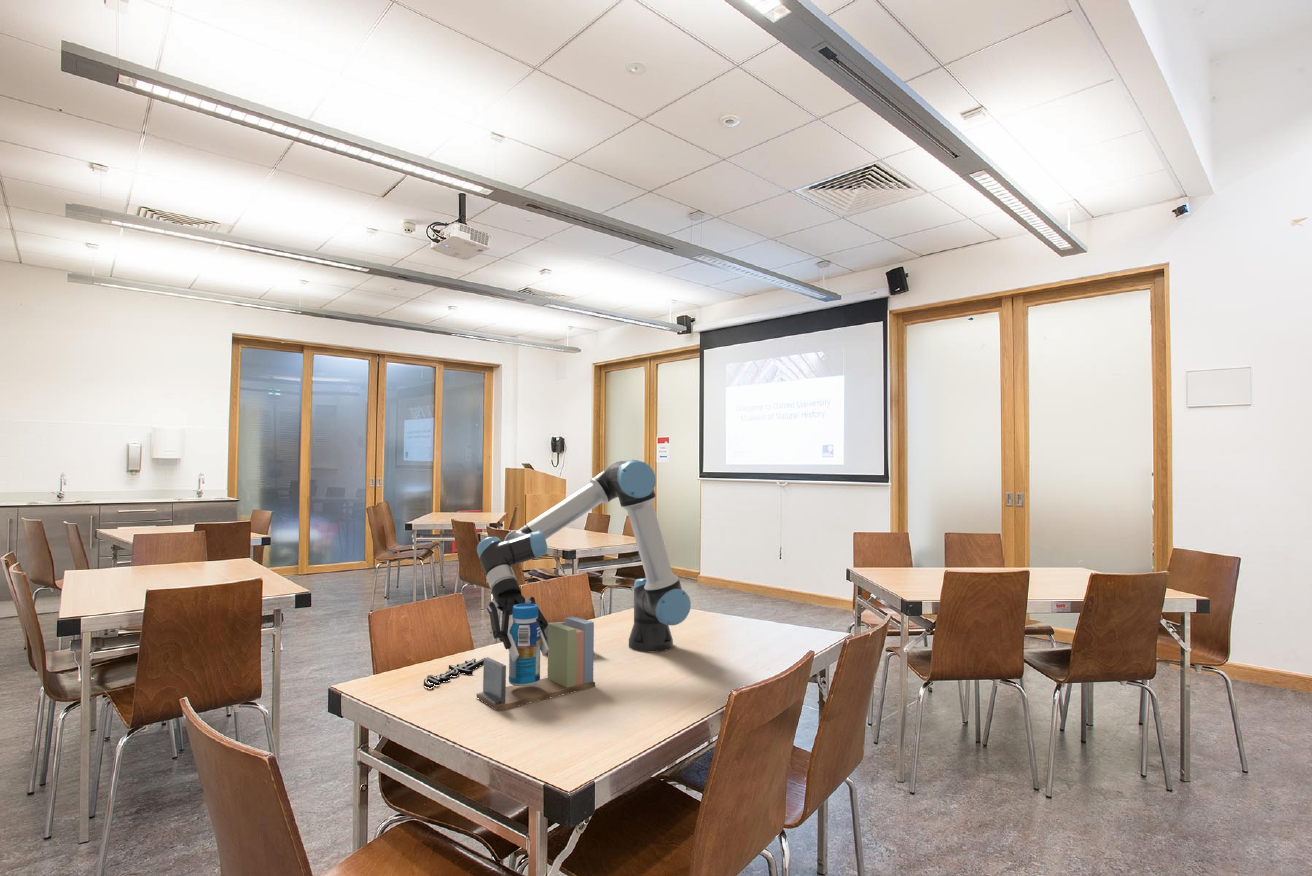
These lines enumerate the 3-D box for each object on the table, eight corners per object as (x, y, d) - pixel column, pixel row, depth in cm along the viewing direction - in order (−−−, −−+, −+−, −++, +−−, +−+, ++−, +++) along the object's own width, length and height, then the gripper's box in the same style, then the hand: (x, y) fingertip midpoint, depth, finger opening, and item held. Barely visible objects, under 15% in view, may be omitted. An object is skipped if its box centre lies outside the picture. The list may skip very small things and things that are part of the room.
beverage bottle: (501, 683, 169) (502, 606, 170) (524, 675, 176) (525, 601, 177) (524, 689, 164) (525, 610, 166) (547, 680, 171) (548, 604, 173)
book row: (573, 673, 184) (573, 616, 185) (593, 681, 177) (593, 622, 178) (547, 678, 179) (548, 620, 180) (567, 687, 171) (567, 626, 172)
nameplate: (443, 686, 172) (410, 683, 174) (443, 692, 172) (410, 689, 174) (493, 659, 198) (464, 656, 201) (493, 664, 198) (464, 661, 201)
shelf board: (571, 676, 185) (571, 672, 185) (595, 686, 176) (595, 682, 176) (476, 698, 166) (476, 693, 166) (497, 711, 157) (497, 706, 157)
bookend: (487, 692, 167) (488, 657, 168) (505, 702, 159) (506, 665, 160) (478, 694, 165) (479, 658, 166) (496, 704, 158) (496, 667, 158)
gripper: (532, 589, 190) (560, 656, 177) (464, 597, 176) (489, 670, 163) (541, 573, 186) (570, 640, 173) (473, 580, 173) (499, 654, 159)
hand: (531, 655), depth 168 cm, fingers closed on beverage bottle, 8 cm apart
